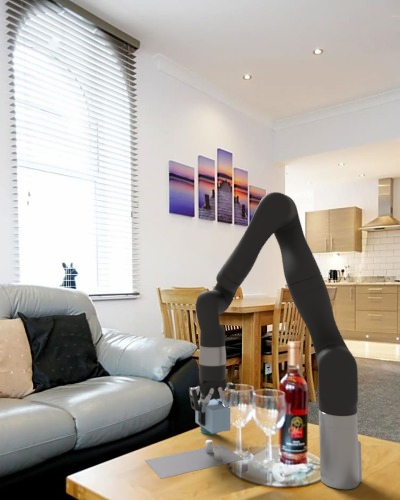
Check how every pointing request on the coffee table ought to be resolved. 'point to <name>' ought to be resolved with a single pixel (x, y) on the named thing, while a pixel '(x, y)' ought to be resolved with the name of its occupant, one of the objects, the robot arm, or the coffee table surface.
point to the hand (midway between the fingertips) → (212, 423)
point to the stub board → (192, 460)
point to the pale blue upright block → (215, 417)
